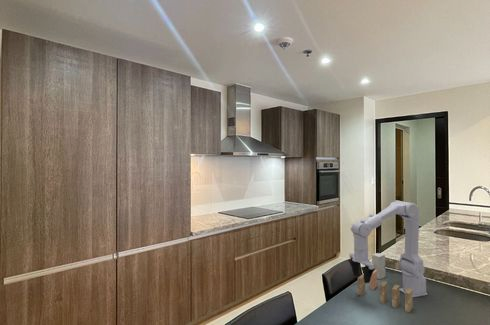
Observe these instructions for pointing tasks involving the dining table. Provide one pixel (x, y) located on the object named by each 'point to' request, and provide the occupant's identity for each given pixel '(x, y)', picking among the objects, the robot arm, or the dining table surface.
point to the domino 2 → (373, 280)
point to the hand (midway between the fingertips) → (361, 278)
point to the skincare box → (379, 264)
